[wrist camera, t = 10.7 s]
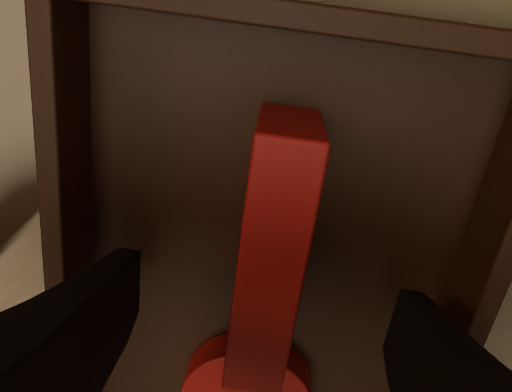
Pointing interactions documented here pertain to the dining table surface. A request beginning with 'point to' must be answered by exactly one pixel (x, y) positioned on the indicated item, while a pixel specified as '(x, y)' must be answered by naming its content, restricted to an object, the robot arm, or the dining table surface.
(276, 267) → the red block with disc
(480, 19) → the dining table surface
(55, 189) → the tray
